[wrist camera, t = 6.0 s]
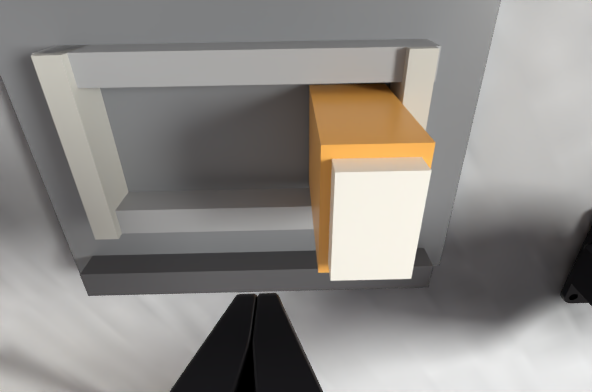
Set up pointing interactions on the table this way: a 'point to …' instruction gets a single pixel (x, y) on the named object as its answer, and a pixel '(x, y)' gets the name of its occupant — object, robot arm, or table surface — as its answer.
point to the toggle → (366, 181)
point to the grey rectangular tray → (224, 110)
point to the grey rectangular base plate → (227, 273)
